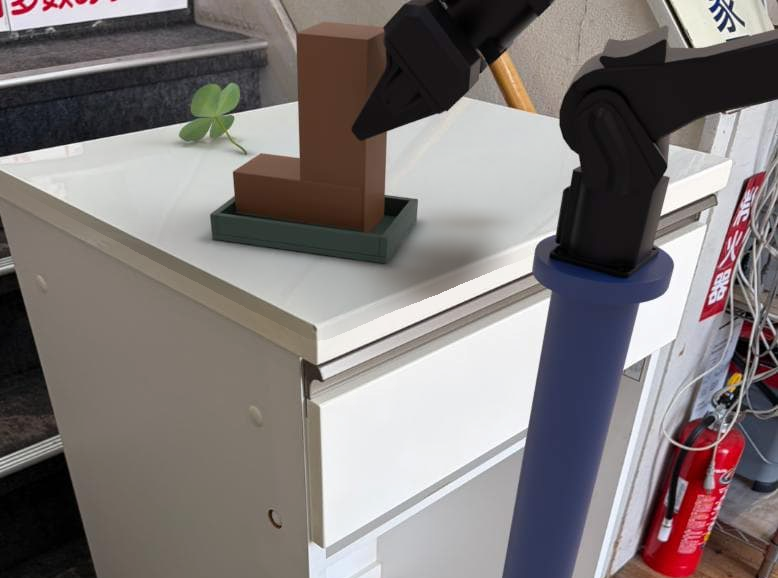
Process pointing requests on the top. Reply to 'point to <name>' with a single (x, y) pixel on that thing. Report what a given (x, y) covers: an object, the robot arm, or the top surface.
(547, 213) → the top surface
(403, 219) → the tray
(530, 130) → the top surface
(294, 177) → the boot
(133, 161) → the top surface
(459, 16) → the robot arm
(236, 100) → the green leafy piece
